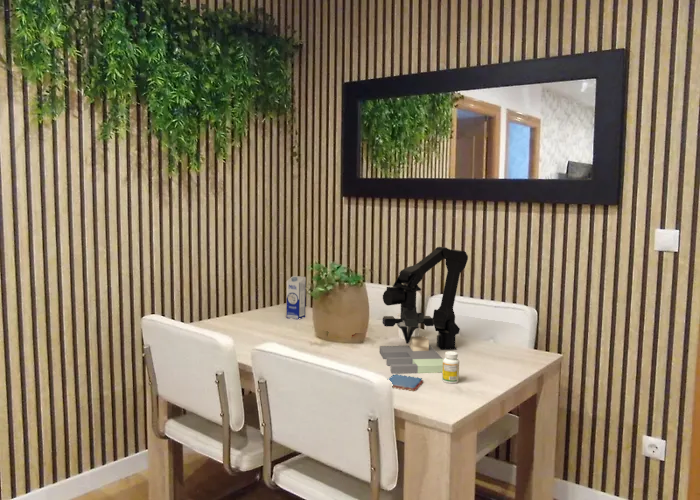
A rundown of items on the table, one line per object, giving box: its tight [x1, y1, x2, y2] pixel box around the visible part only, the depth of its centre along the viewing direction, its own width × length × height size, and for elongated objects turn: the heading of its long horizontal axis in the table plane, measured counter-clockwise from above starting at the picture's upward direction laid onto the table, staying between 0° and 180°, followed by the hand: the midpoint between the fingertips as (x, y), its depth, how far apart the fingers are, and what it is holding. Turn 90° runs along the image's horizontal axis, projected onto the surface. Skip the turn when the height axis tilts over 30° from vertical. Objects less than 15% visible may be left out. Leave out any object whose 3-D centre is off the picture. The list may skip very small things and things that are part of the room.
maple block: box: [409, 335, 430, 351], centre depth 220 cm, size 6×6×4 cm
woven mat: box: [388, 374, 424, 392], centre depth 187 cm, size 10×11×2 cm
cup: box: [396, 312, 421, 340], centre depth 246 cm, size 10×10×10 cm
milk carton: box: [286, 275, 307, 320], centre depth 280 cm, size 7×7×20 cm
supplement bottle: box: [441, 350, 460, 385], centre depth 191 cm, size 5×5×10 cm
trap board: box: [379, 344, 444, 375], centre depth 212 cm, size 20×26×2 cm
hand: (407, 343), depth 220 cm, fingers closed
